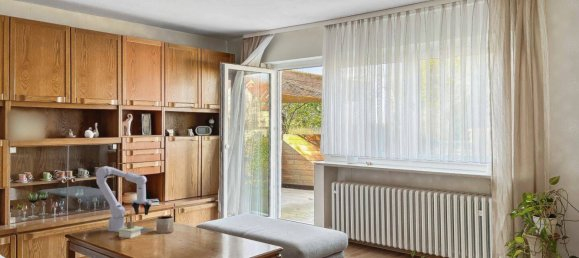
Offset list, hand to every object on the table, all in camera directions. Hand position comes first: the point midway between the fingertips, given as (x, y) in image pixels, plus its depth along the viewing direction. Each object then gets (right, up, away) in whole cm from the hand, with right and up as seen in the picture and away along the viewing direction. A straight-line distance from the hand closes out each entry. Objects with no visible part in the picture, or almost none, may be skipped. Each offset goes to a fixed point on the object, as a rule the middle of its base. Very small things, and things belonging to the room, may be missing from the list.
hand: (141, 214), depth 298 cm
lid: (-1, -6, -17) cm, 18 cm away
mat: (0, -10, -2) cm, 11 cm away
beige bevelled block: (-2, -11, -18) cm, 21 cm away
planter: (+17, -11, -5) cm, 21 cm away
